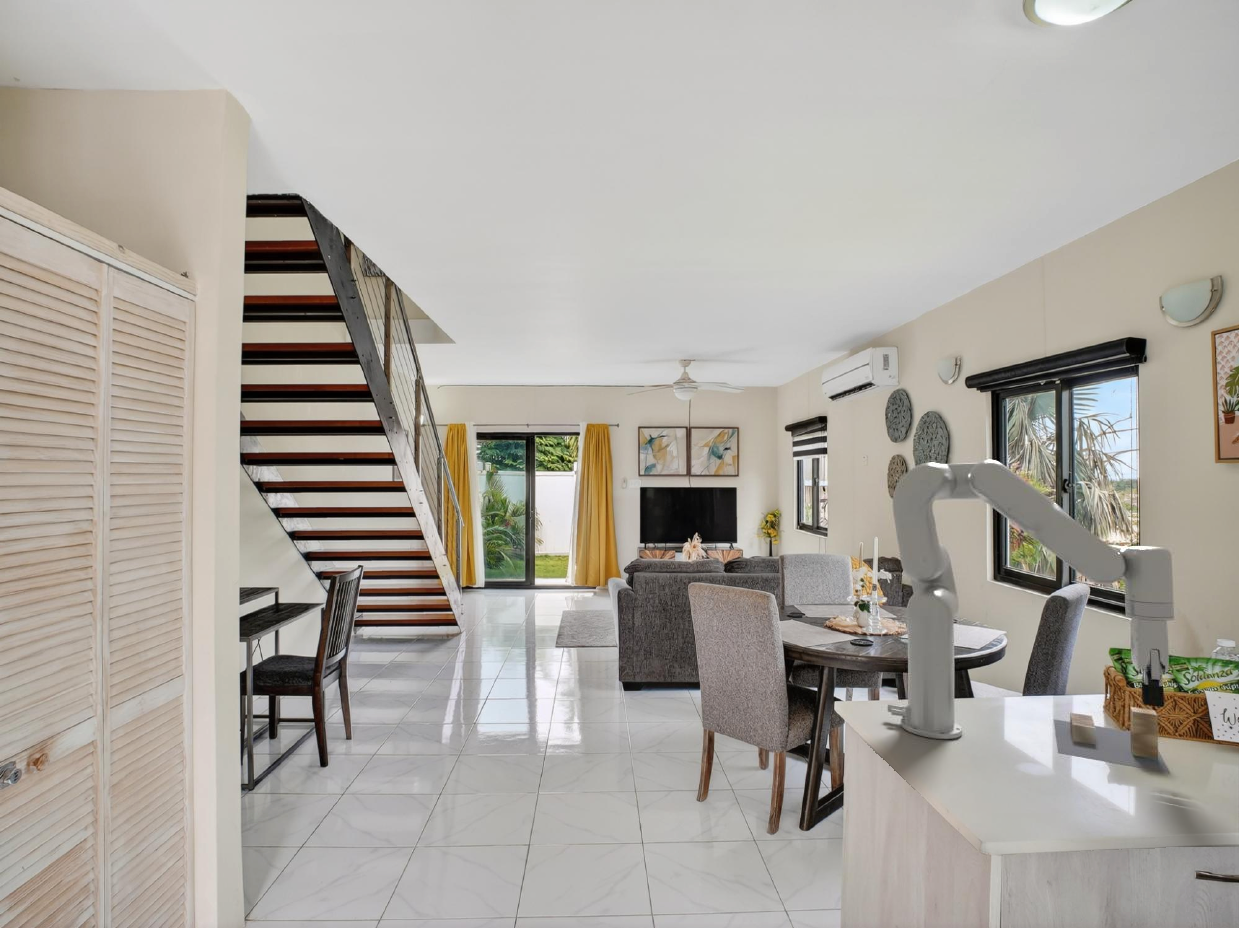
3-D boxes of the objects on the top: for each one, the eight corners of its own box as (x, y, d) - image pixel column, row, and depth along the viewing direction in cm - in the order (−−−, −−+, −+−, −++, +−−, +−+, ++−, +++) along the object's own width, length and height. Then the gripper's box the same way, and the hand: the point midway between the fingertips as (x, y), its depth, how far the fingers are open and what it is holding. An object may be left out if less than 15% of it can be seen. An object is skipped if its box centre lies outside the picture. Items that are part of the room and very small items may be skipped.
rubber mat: (1058, 754, 139) (1058, 752, 139) (1053, 720, 160) (1053, 719, 160) (1170, 775, 130) (1170, 772, 130) (1150, 736, 150) (1150, 734, 150)
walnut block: (1072, 724, 146) (1070, 712, 154) (1072, 740, 146) (1070, 728, 154) (1095, 727, 144) (1091, 715, 152) (1095, 744, 144) (1091, 731, 151)
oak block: (1133, 756, 138) (1132, 711, 138) (1130, 750, 141) (1130, 706, 141) (1158, 760, 136) (1157, 715, 136) (1155, 754, 139) (1154, 710, 139)
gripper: (1120, 603, 141) (1124, 692, 141) (1130, 614, 129) (1134, 712, 128) (1166, 606, 138) (1170, 698, 137) (1181, 617, 125) (1185, 719, 124)
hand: (1153, 704), depth 132 cm, fingers closed
